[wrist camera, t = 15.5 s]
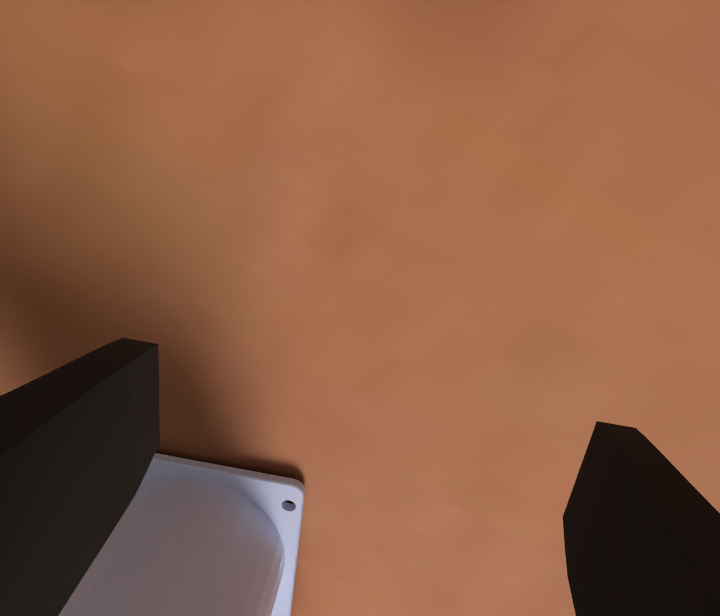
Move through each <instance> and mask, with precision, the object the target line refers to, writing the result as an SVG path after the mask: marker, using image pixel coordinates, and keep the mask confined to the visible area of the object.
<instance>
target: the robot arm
mask: <svg viewBox="0 0 720 616" xmlns="http://www.w3.org/2000/svg"><path fill="white" fill-rule="evenodd" d="M159 443H160V437H159V365H158V344H154V343H148V342H143V341H137V340H131V339H126V338H121V339H119V340H116V341H114V342H112V343H109V344H107V345H105V346H103V347H101V348H99V349H96V350H94V351H92V352H90V353H88V354H86V355H84V356H82V357H80V358H78V359H76V360H74V361H72V362H70V363H68V364H66V365H64V366H62V367H60V368H58V369H56V370H54V371H52V372H50V373H48V374H45V375H43V376H41V377H39V378H37V379H35V380H33V381H31V382H29V383H27V384H25V385H23V386H21V387H19V388H17V389H14V390H12V391H10V392H8V393H6V394H3V395H1V396H0V616H291V609H292V601H293V592H294V583H295V575H296V566H297V558H298V549H299V540H300V532H301V523H302V515H303V506H304V497H305V487H304V486H303V484H302V483H301V482H300V481H298V480H296V479H293V478H287V477H282V476H277V475H271V474H266V473H260V472H255V471H250V470H244V469H239V468H233V467H228V466H222V465H217V464H212V463H206V462H201V461H195V460H190V459H185V458H179V457H174V456H168V455H163V454H157V453H155V452H156V450H157V448H158V445H159ZM285 500H290V501H292V502H294V504H290V503H287V502H286V501H285ZM563 527H564V541H565V553H566V564H567V574H568V580H569V585H570V590H571V594H572V599H573V604H574V608H575V613H576V616H720V513H719V512H718V511H717V510H716V509H715V508H714V507H713V506H712V505H711V504H710V503H709V502H708V501H707V500H706V499H705V498H704V497H703V496H702V495H701V494H700V493H699V492H698V491H697V490H696V489H695V488H694V487H693V486H692V485H691V484H690V483H689V482H688V480H687V479H686V478H685V477H684V476H683V475H682V474H681V473H680V472H679V471H678V470H677V469H676V468H675V467H674V466H673V465H672V464H671V463H670V462H669V461H668V460H667V459H666V457H665V456H664V455H663V454H662V453H661V452H660V451H659V450H658V449H657V448H656V447H655V446H654V445H653V444H652V443H651V442H650V441H649V440H648V439H647V438H646V437H645V436H644V435H643V434H642V433H640V432H639V431H638V430H637V429H636V428H632V427H627V426H621V425H615V424H610V423H604V422H598V421H597V422H596V425H595V428H594V431H593V434H592V436H591V439H590V442H589V445H588V448H587V451H586V453H585V456H584V459H583V462H582V465H581V467H580V470H579V473H578V476H577V479H576V481H575V484H574V487H573V490H572V493H571V495H570V498H569V501H568V504H567V507H566V510H565V512H564V515H563Z"/></svg>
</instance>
